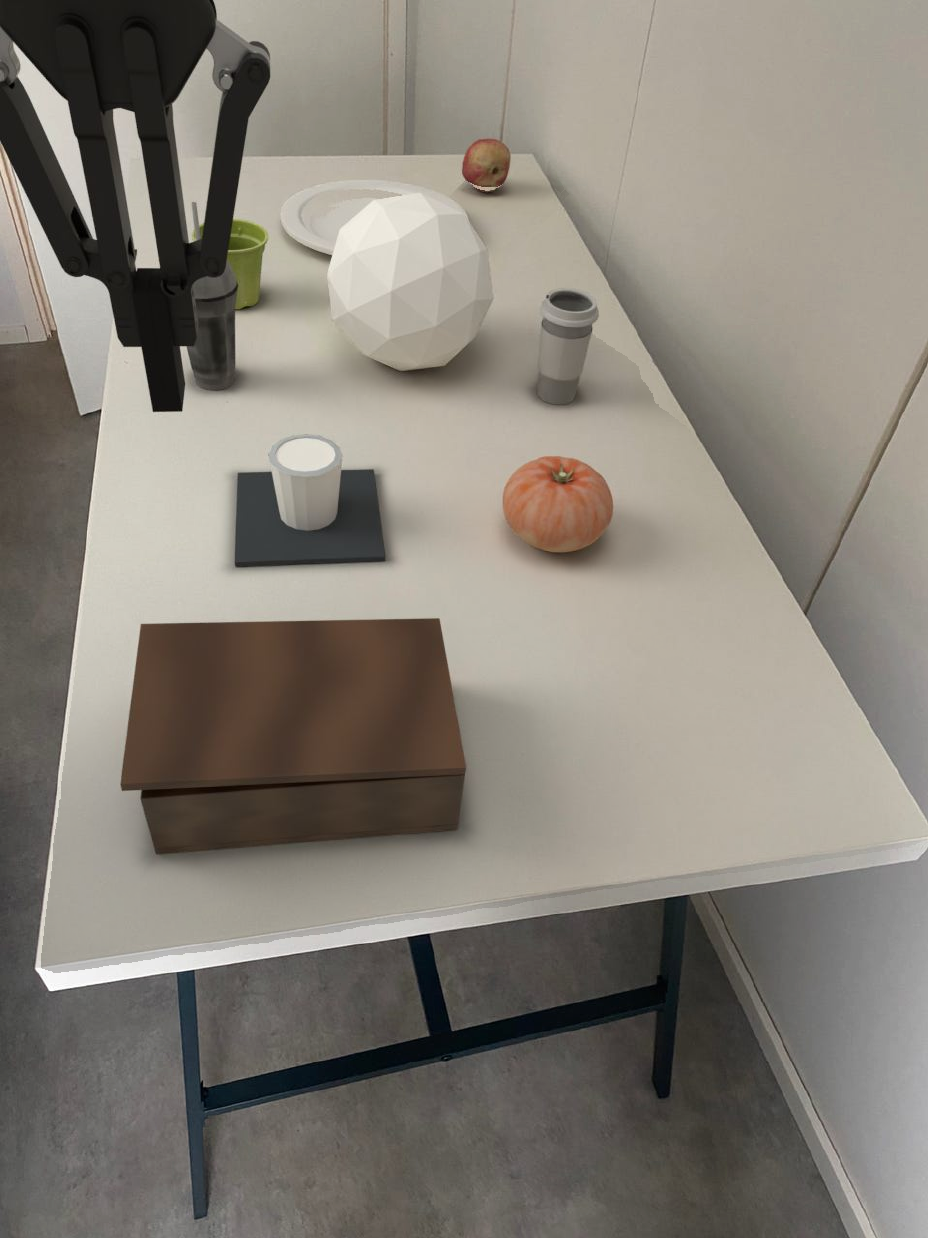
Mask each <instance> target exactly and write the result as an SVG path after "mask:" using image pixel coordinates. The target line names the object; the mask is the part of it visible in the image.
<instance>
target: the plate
mask: <svg viewBox="0 0 928 1238" xmlns="http://www.w3.org/2000/svg"><path fill="white" fill-rule="evenodd" d="M349 189H354V190H355V189H358V190H359V189H360V190H362V189H370V190H374V189H376V190H382V191H388V192H394V193H398V194H402V195H408V194H415V193H422V194H424V195H426V196H428V197H430V198H432V199H434V200H437V201H439V202H441V203H443V204H445V205H447V206H449V207H451V208H453V209H455V210H457V211H459V212H461V213H463V214H464V215H465V216H466V218H467V219H468V221H469V222H470V218H469V217H468V213H467V212H466V211H465V209H464V207H462V206H461V205H460V204H459V203H458V202H456V201H455V200H453V199H452V198H450V197H448V196H447V195H444V194H442V193H440V192H438V191H435V190H432V189H430V188H426V187H422V186H419V185H416V184H411V183H406V182H401V181H393V180H392V181H391V180H385V179H384V180H383V179H362V178H361V179H345V180H335V181H330V182H324V183H323V182H322V183H319V184H316V185H312V186H309V187H307V188H304V189H301V190H299V191H298V192H296V193H294V194H292V195H291V196H290V197H288V198H287V199H286V200H285V202H283V204H282V206H281V208H280V211H279V213H280V216H279V217H280V224H281V226H282V228H283V230H284V231H285V232H286V233H287V234H288V236H290V237H291V238H293V239H294V240H295V241H296V242H298V243H300V244H301V245H303V246H305V247H307V248H310V249H312V250H314V251H316V252H319V253H320V252H321V253H322V254H326V255H329V256H332V254H333V251H334V248H335V244H336V241H337V237H338V234H339V230H340V229H341V228H342V227H343V226H344V225H345V224H346V223H348V222H349V221H350V220H351V219H352V218H353V217H355V216H356V215H357V214H358V213H359V212H360V211H361V210H363V209H364V208H365V207H366V206H367V205H368V204H370V203H371V202H372V201H373V200H376V199H375V198H362V199H351V200H352V201H351V200H346V201H344V200H343V201H342V202H341V201H340V202H338V203H337V202H336V204H335V203H332V205H330V204H329V206H328V207H336V208H335V210H334V209H331V210H332V211H329V213H327V215H326V216H325V217H326V218H325V217H321V216H320V218H321V219H320V218H318V217H317V216H315V215H312V216H311V218H310V227H311V229H312V231H313V232H314V233H315V234H316V235H315V234H314V233H312V232H310V231H309V230H308V229H307V228H306V227H305V225H304V223H303V221H302V217H301V214H302V210H303V207H305V206H306V205H307V203H308V202H309V201H310V200H312V199H313V198H314V197H316V196H317V195H319V194H321V193H325V192H332V191H339V190H340V191H341V190H349ZM337 207H339V208H340V209H339V208H337Z"/></svg>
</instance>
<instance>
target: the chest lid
mask: <svg viewBox="0 0 928 1238" xmlns="http://www.w3.org/2000/svg"><path fill="white" fill-rule="evenodd" d="M139 627H140V628H139V636H138V644H137V650H136V651H137V652H136V659H135V667H134V674H133V682H132V689H131V699H130V705H129V711H128V712H129V713H128V720H127V728H126V736H125V744H124V750H123V751H124V752H123V759H122V767H121V768H122V769H121V774H120V777H121V778H120V783H119V784H120V789H121V791H122V792H130V791H131V792H132V791H141V790H154V789H174V788H195V787H215V786H236V785H256V784H277V783H297V782H317V781H338V780H358V779H379V778H399V777H420V776H440V775H461V774H465V775H466V772H467V764H466V759H465V753H464V748H463V742H462V735H461V729H460V725H459V721H458V720H459V719H458V714H457V708H456V702H455V697H454V691H453V685H452V681H451V680H452V679H451V674H450V668H449V663H448V658H447V657H448V656H447V651H446V646H445V642H444V641H445V640H444V636H443V635H444V634H443V630H442V624H441V619H440V618H439V617H438V618H437V617H436V618H435V617H432V618H431V617H430V618H378V619H376V618H375V619H373V618H372V619H328V620H326V619H325V620H322V619H321V620H273V621H272V620H270V621H268V620H266V621H264V620H263V621H217V622H216V621H215V622H211V621H210V622H166V623H165V622H164V623H163V622H161V623H159V622H158V623H140V626H139Z"/></svg>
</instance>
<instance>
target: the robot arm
mask: <svg viewBox="0 0 928 1238" xmlns="http://www.w3.org/2000/svg"><path fill="white" fill-rule="evenodd" d="M217 17H218V13H217V8H216V4H215V1H214V0H0V144H1V146H2V148H3V150H4V152H5V154H6V156H7V158H8V160H9V162H10V164H11V167H12V168H13V171H14V172H15V175H16V177H17V179H18V181H19V183H20V186H21V187H22V189H23V192H24V193H25V195H26V198H27V199H28V202H29V203H30V205H31V207H32V209H33V212H34V213H35V216H36V219H37V220H38V222H39V224H40V226H41V229H42V230H43V232H44V234H45V236H46V238H47V240H48V242H49V244H50V246H51V249H52V251H53V253H54V254H55V257H56V259H57V261H58V264H59V266H60V268H61V269H62V270H63V271H64V273H65V274H67V275H68V276H70V277H73V278H81V277H83V276H87V277H89V278H92V279H95V280H98V281H99V282H101V283H102V284H103V285H104V286H105V288H106V289H107V291H108V294H109V299H110V300H109V301H110V305H111V310H112V315H113V321H114V325H115V331H116V337H117V339H118V341H119V342H120V345H122V347H123V348H141V352H142V359H143V365H144V370H145V376H146V381H147V387H148V392H149V398H150V404H151V409H152V410H151V411H152V413H178V412H179V413H181V412H182V413H183V409H184V399H185V390H186V380H185V373H184V365H183V360H182V359H183V357H182V352H181V347H187V346H194V345H195V342H196V338H197V331H198V318H197V310H196V302H195V294H194V286H193V284H194V283H195V282H196V281H197V280H199V279H201V278H203V277H206V276H209V277H213V278H216V277H219V276H221V275H222V274H223V273H224V271H225V268H226V261H227V255H228V248H229V242H230V235H231V229H232V223H233V219H234V216H235V211H236V209H235V208H236V202H237V196H238V190H239V185H240V177H241V170H242V165H243V164H242V163H243V158H244V151H245V144H246V138H247V132H248V125H249V118H250V117H251V115H252V113H253V112H254V109H255V108H256V106H257V105H258V103H259V101H260V99H261V97H262V95H263V94H264V92H265V90H266V88H267V87H268V85H269V83H270V80H271V54H270V50H269V49H268V47H267V46H266V45H265V44H264V43H262V42H260V41H259V40H258V41H257V40H251V41H249V42H248V41H246V40H245V39H244V38H243V37H242V36H240V35H239V34H237V33H236V32H235V31H233V30H232V29H231V28H229V27H228V26H227V25H225V24H224V23H222V22H221V21H220V20H218V18H217ZM14 45H15V46H16V47H17V48H18V49H19V50H20V52H21V53H23V55H24V56H25V57H26V58H27V59H28V60H29V62H30V63H31V64H32V65H33V66H34V67H35V68H36V70H38V72H39V73H40V74H41V75H42V76H43V78H44V79H45V80H46V81H47V82H48V84H50V85H51V87H52V88H53V89H54V90H55V91H56V92H57V93H58V94H59V95H60V97H62V98H63V100H65V101H67V106H68V110H69V115H70V120H71V121H70V122H71V125H72V130H73V134H74V137H75V138H76V140H77V144H78V148H79V149H78V150H79V155H80V160H81V164H82V171H83V175H84V182H85V185H86V186H85V187H86V191H87V196H88V202H89V207H90V213H91V217H92V218H91V219H92V222H93V228H94V233H95V238H96V239H95V238H94V237H93V234H92V232H91V230H90V229H89V226H88V223H87V222H86V220H85V217H84V215H83V213H82V211H81V208H80V206H79V205H78V202H77V199H76V198H75V195H74V193H73V191H72V189H71V186H70V184H69V182H68V179H67V178H66V175H65V173H64V171H63V169H62V166H61V165H60V164H61V163H60V162H59V160H58V157H57V156H56V153H55V151H54V148H53V147H52V144H51V142H50V140H49V138H48V136H47V133H46V131H45V129H44V127H43V125H42V122H41V120H40V118H39V115H38V112H37V111H36V109H35V106H34V105H33V102H32V99H31V98H30V96H29V94H28V92H27V90H26V88H25V86H24V84H23V83H22V81H21V79H20V78H19V77H18V76H19V74H20V72H21V65H22V64H21V61H20V59H19V56H18V55H17V53H16V51H15V47H14ZM206 50H207V51H208V52H209V53H210V55H211V57H212V59H213V66H212V74H211V76H212V81H213V83H214V86H215V87H216V88H217V89H218V90H219V91H221V97H220V102H219V109H218V117H217V123H216V131H215V139H214V145H213V154H212V162H211V169H210V176H209V183H208V191H207V198H206V206H205V213H204V220H203V223H204V227H203V234H202V239H200V240H197V241H191V242H190V240H189V239H190V238H189V231H188V224H187V216H186V209H185V203H184V202H185V201H184V194H183V187H182V186H183V185H182V177H181V171H180V162H179V155H178V148H177V140H176V135H175V134H176V132H175V125H174V108H173V104H174V103H175V102H176V101H177V99H178V98H179V97H180V95H181V93H182V92H183V90H184V88H185V87H186V85H187V83H188V81H189V79H190V77H191V76H192V75H193V73H194V71H195V69H196V67H197V65H198V64H199V62H200V60H201V59H202V56H203V55H204V54H205V52H206ZM117 109H122V110H124V111H129V112H132V113H134V119H135V120H134V121H135V125H136V130H137V131H136V132H137V136H138V139H139V141H140V147H141V154H142V160H143V166H144V173H145V179H146V184H147V185H146V187H147V192H148V199H149V203H150V204H149V205H150V211H151V218H152V225H153V231H154V232H153V233H154V237H155V243H156V250H157V256H158V262H159V263H158V264H159V267H137V266H136V261H137V255H138V248H137V249H136V248H135V243H134V237H133V231H132V225H131V219H130V213H129V207H128V200H127V196H126V195H127V194H126V189H125V183H124V175H123V170H122V164H121V158H120V152H119V147H118V140H117V134H116V129H115V121H114V110H117Z"/></svg>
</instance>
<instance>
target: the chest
mask: <svg viewBox="0 0 928 1238" xmlns="http://www.w3.org/2000/svg"><path fill="white" fill-rule="evenodd" d="M465 777H466V773H465V774H461V775H440V776H420V777H399V778H379V779H358V780H338V781H317V782H297V783H277V784H256V785H236V786H215V787H195V788H174V789H154V790H140V801H141V802H140V803H141V806H142V810H143V813H144V817H145V821H146V825H147V828H148V831H149V834H150V839H151V843H152V846H153V849H154V852H155V855H168V854H178V853H180V854H181V853H191V852H203V851H215V850H216V851H217V850H225V849H238V848H239V849H240V848H251V847H263V846H264V847H265V846H276V845H287V844H299V843H300V844H301V843H311V842H322V841H323V842H324V841H335V840H346V839H347V840H348V839H359V838H360V839H361V838H371V837H384V836H395V835H408V834H421V833H432V832H445V831H457V830H459V825H460V819H461V818H460V817H461V810H462V801H463V794H464V786H465Z"/></svg>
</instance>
